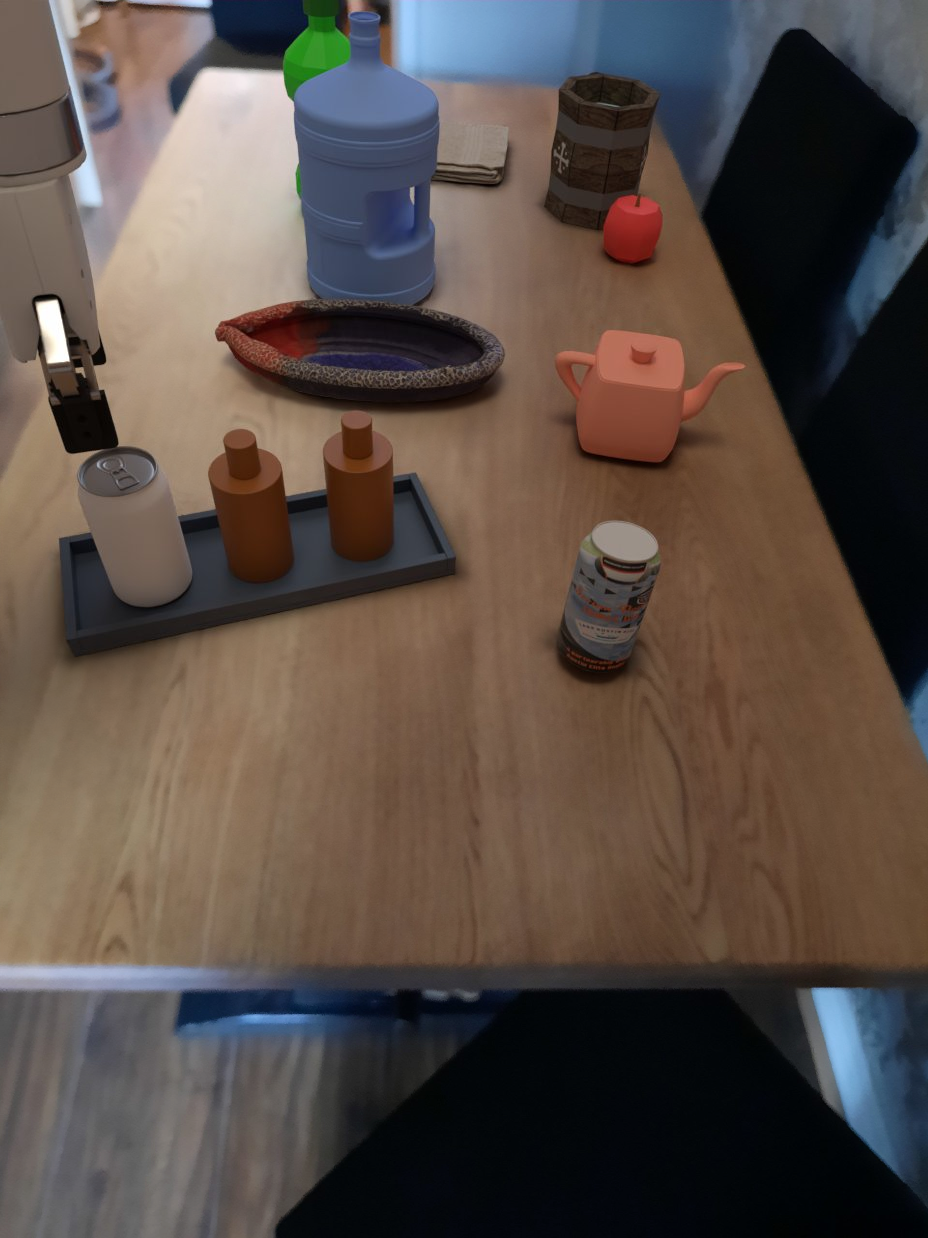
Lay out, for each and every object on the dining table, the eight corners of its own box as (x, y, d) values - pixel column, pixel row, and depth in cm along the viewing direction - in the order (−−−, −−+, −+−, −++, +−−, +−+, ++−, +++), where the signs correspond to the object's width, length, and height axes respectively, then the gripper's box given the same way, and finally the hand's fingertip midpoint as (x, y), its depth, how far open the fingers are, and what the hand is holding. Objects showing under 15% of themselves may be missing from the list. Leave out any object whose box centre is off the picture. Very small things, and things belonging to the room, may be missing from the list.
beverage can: (548, 674, 68) (571, 570, 59) (563, 607, 73) (586, 502, 64) (626, 692, 68) (661, 590, 58) (636, 623, 72) (670, 519, 63)
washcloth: (422, 181, 125) (423, 159, 123) (434, 134, 137) (435, 113, 135) (503, 189, 125) (505, 167, 123) (508, 140, 137) (510, 119, 135)
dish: (495, 429, 88) (500, 387, 85) (203, 396, 89) (195, 354, 85) (506, 346, 98) (511, 306, 95) (244, 318, 99) (237, 277, 95)
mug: (645, 231, 119) (671, 113, 108) (549, 227, 118) (565, 108, 107) (621, 171, 132) (642, 59, 120) (534, 167, 131) (547, 55, 119)
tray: (74, 657, 67) (66, 640, 65) (66, 555, 74) (58, 537, 72) (455, 573, 75) (456, 556, 73) (415, 488, 82) (416, 471, 80)
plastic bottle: (362, 232, 114) (354, 10, 95) (285, 222, 115) (262, -1, 96) (378, 199, 121) (374, -14, 102) (306, 190, 122) (288, -24, 102)
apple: (638, 276, 111) (651, 214, 105) (586, 255, 114) (596, 193, 108) (667, 254, 115) (682, 193, 109) (616, 234, 118) (628, 174, 112)
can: (171, 543, 74) (139, 431, 65) (207, 587, 71) (179, 476, 62) (100, 575, 72) (56, 463, 62) (135, 622, 69) (94, 512, 59)
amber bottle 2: (339, 567, 74) (329, 447, 64) (324, 524, 77) (312, 403, 67) (401, 554, 75) (401, 435, 65) (384, 512, 78) (381, 392, 69)
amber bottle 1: (234, 589, 71) (207, 468, 62) (223, 544, 75) (195, 422, 65) (300, 575, 73) (284, 455, 63) (286, 531, 76) (269, 410, 66)
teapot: (550, 389, 93) (564, 301, 85) (715, 412, 92) (744, 325, 84) (540, 455, 86) (554, 365, 78) (719, 481, 85) (752, 392, 77)
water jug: (287, 300, 102) (256, 25, 81) (337, 242, 112) (322, -16, 91) (410, 327, 100) (412, 51, 79) (450, 266, 110) (462, 6, 88)
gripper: (-69, 74, 49) (25, 343, 62) (-86, 205, 39) (31, 495, 51) (70, 70, 51) (133, 331, 64) (90, 193, 41) (161, 475, 53)
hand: (88, 404), depth 58 cm, fingers open, 9 cm apart
